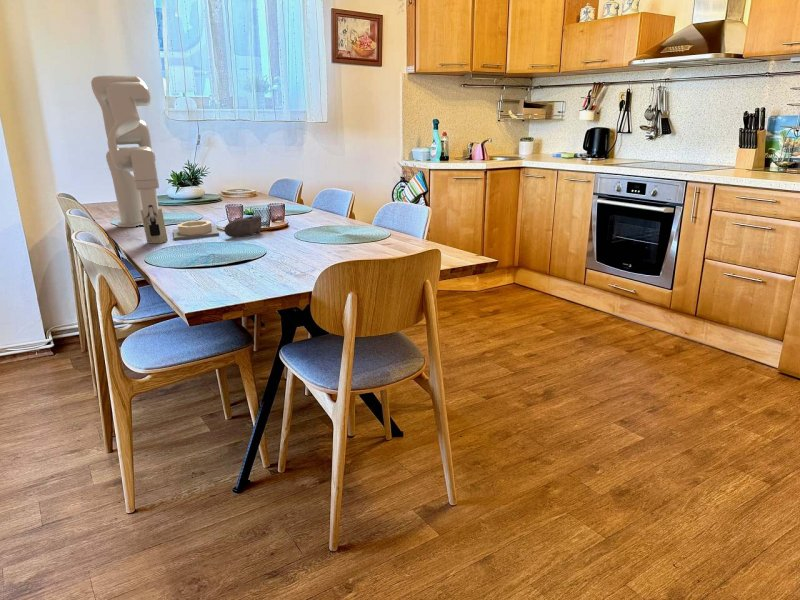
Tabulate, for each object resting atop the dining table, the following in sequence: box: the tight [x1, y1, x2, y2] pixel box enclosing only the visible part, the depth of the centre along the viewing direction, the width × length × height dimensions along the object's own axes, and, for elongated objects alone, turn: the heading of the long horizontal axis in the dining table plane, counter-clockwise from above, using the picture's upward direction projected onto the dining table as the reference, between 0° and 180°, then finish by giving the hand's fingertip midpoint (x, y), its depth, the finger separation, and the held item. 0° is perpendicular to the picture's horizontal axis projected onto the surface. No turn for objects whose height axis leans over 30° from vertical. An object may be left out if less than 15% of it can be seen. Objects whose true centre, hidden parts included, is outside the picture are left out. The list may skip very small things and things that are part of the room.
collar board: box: [172, 220, 220, 241], centre depth 217 cm, size 16×16×4 cm
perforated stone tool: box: [224, 215, 263, 238], centre depth 212 cm, size 15×5×7 cm, turn 122°
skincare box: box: [140, 207, 169, 244], centre depth 204 cm, size 6×4×12 cm
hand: (155, 233), depth 205 cm, fingers closed on skincare box, 7 cm apart
